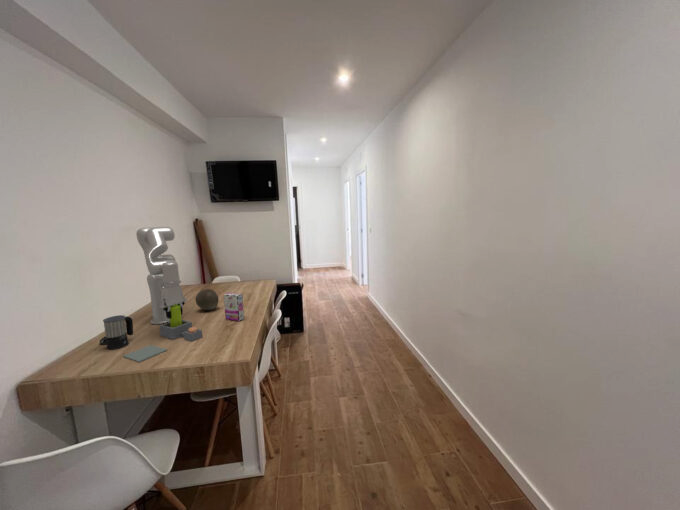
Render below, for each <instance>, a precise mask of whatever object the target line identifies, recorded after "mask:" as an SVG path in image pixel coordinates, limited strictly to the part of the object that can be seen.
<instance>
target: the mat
mask: <svg viewBox="0 0 680 510" xmlns="http://www.w3.org/2000/svg"><path fill="white" fill-rule="evenodd" d="M165 352H168V349H167V348H163V347H159V346H156V345H153V344H151V345H148V346H145V347H141V348H139V349H137V350H134V351H131V352H129V353H127V354H124V355H122V356H123V358H125V359H128V360H131V361H133V360H134V362H136V361H137V363H139V362H140V363H142V362H144V361H146V359H147V360H149V359H151V358H153V357H156V356H157V355H160V353H161V354H162V353H165ZM141 361H142V362H141Z"/></svg>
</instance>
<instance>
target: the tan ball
mask: <svg viewBox="0 0 680 510" xmlns="http://www.w3.org/2000/svg"><path fill="white" fill-rule="evenodd" d="M197 329H198V327H197V326H192V327H191V328H189V329H188V330H189V333H194V332H196V331H197Z"/></svg>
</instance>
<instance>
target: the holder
mask: <svg viewBox="0 0 680 510" xmlns="http://www.w3.org/2000/svg"><path fill="white" fill-rule="evenodd" d="M191 327H193V322H192V321H190V320H185V319H182V325H180V326H177V327H174V328H172V327H170V322H168V323H164V324H159V333H160V334H159V335H160V337H162V336H163V337H162V338H165V337H166V339H169V338H170V340H173V339H174V340H176V338H177V339H179V338H183V339H184V340H185V339H186V340H185V341H189V342H194V341H196V339H197V340H199V339H201V338H203V332H202V331H203V330H202V329H199V328H197V331H196V332H194V333H189V330H188V329H189V328H191ZM178 337H179V338H178ZM198 338H199V339H198Z"/></svg>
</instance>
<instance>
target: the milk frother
mask: <svg viewBox="0 0 680 510" xmlns="http://www.w3.org/2000/svg"><path fill="white" fill-rule="evenodd" d="M102 322H103V328H104V332H105V336H103V337H101V339H100V340H99V344H100V345H106V349H107V350H109V351H110V350H111V351H113V350H117V349H122V348H124V347H126V346H128V345H129V343H130V342H129V339H128V336H132V335H134V323H133V322H134V321H133V318H132V317H130V316H126V315H119V314H118V315H114V316H110V317H106V318H104V319H103V320H102Z"/></svg>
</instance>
